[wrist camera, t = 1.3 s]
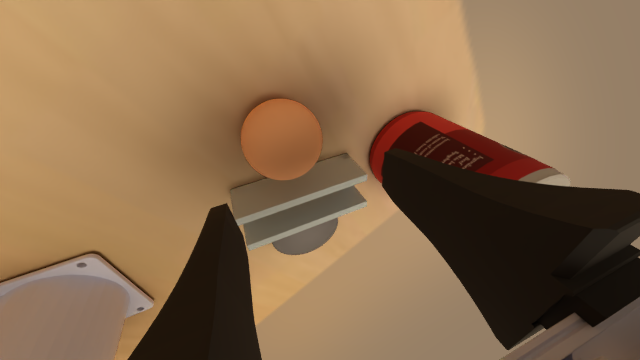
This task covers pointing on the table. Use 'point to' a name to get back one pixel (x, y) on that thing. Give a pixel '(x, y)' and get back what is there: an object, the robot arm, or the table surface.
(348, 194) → the acrylic fence
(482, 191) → the robot arm
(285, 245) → the coaster
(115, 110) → the table surface
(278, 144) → the ball
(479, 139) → the canned food
